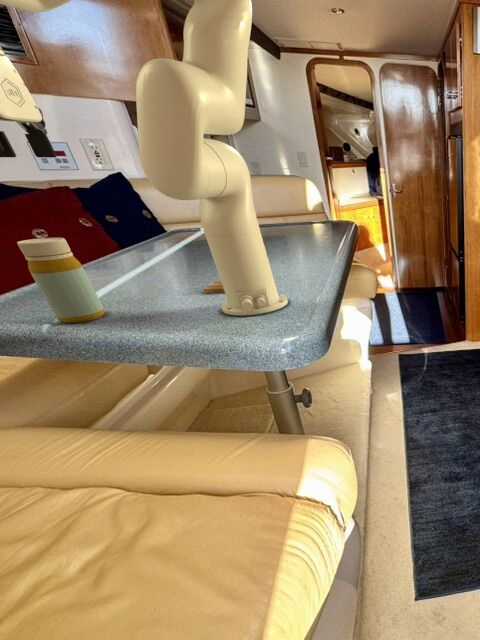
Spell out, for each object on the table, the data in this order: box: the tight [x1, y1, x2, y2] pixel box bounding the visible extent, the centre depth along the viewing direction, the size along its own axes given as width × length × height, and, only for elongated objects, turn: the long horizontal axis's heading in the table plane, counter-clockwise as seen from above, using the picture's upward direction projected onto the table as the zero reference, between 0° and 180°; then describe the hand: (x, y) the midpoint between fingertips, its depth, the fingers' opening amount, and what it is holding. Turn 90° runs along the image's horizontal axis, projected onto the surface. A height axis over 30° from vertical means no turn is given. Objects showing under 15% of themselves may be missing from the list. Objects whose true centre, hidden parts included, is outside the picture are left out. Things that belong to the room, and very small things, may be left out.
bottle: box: [16, 237, 106, 324], centre depth 77 cm, size 7×7×15 cm
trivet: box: [203, 280, 225, 294], centre depth 99 cm, size 8×8×1 cm
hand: (27, 157), depth 75 cm, fingers open, 9 cm apart
